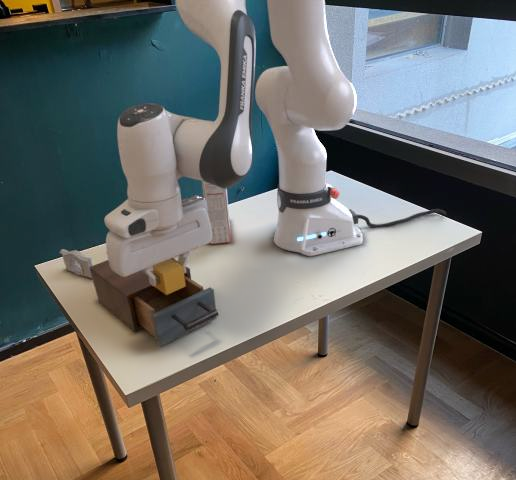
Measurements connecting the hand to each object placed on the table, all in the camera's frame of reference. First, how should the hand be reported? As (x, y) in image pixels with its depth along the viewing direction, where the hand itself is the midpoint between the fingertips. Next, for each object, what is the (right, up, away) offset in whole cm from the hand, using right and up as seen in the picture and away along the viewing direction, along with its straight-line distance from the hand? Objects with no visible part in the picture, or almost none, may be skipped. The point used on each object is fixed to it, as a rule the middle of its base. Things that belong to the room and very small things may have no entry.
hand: (168, 278), depth 97 cm
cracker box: (+7, +17, +40) cm, 44 cm away
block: (0, -1, +1) cm, 2 cm away
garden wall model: (-24, +4, +25) cm, 35 cm away
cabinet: (-7, -3, +14) cm, 16 cm away
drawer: (+1, -8, +6) cm, 10 cm away
